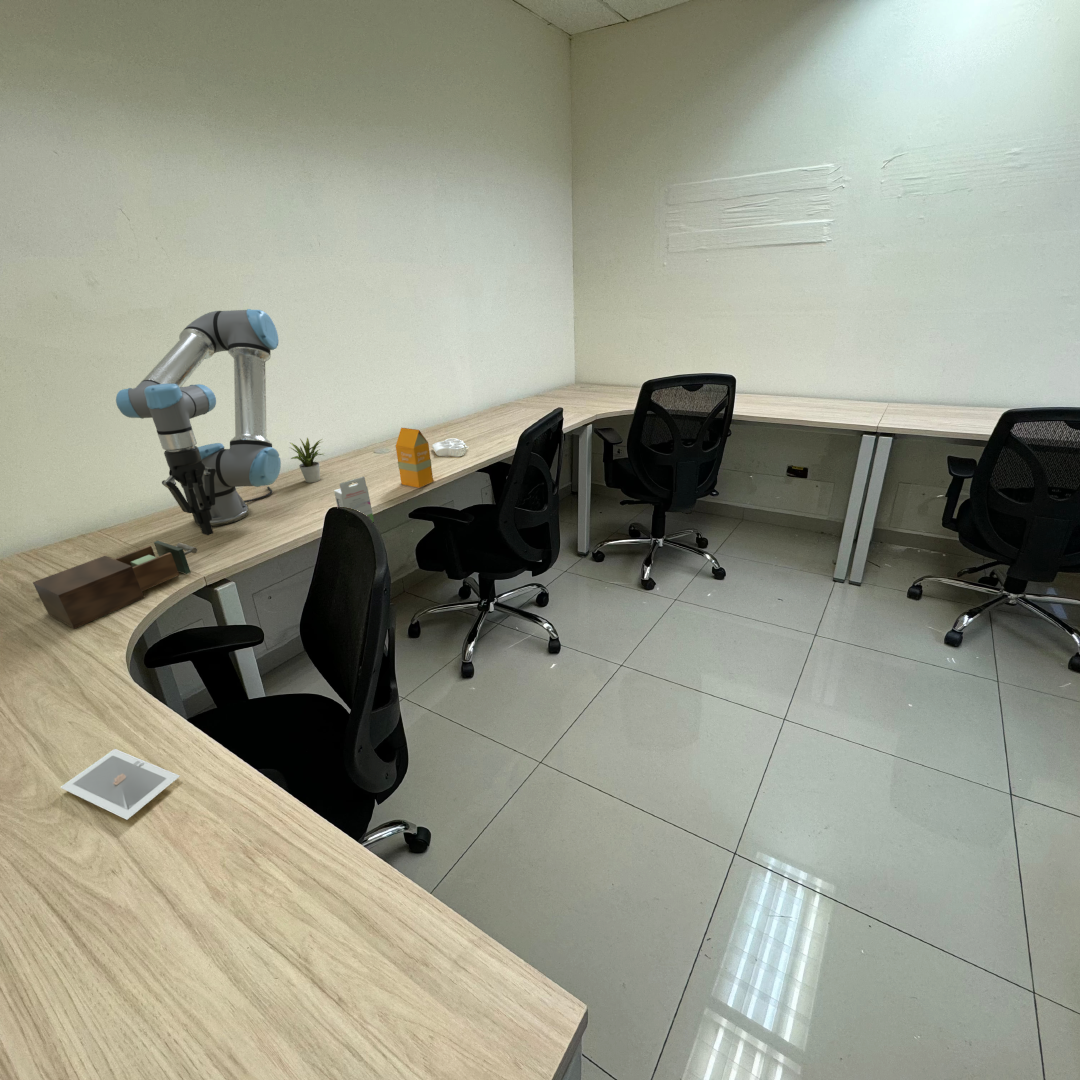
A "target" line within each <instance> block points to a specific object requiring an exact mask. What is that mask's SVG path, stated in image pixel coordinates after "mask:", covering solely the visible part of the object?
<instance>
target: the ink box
mask: <svg viewBox="0 0 1080 1080" xmlns="http://www.w3.org/2000/svg"><path fill="white" fill-rule="evenodd" d="M352 483H353V484H352ZM333 493H334V497H335V502H336V503H335V504H336V507H337V508H338V507H347V508H352V509H355V510H358V511H360V512H362V513H364V514H365V515H367V517H369V518H370V519H371V520H372V522H371V523H374V522H375V518H374V514H373V509H372V503H371V497H370V493H369V488H368V486H367V482H366V477H365V476H360V477H357V478H354V479H350V480H347V481H343V482H340V483H339V488H338V489H334V490H333Z"/></svg>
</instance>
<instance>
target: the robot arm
mask: <svg viewBox="0 0 1080 1080" xmlns="http://www.w3.org/2000/svg"><path fill="white" fill-rule="evenodd" d="M278 346H279V334H278V330H277V328H276V324H274V321H273V319H272V318H271V316H270V315H269V314H268V313H267V312H265V310H264V311H263V310H261V309H251V308H247V309H233V310H232V309H231V310H214V311H210V312H207V313H204V314H202V315H200V316H199V317H197V318H195V319H194V320H193V321H191V322H190V323H188V325H186V327H184V328H183V330H182V331H181V332H180V333H179V340H178V341H177V342H176V344H174V346H172V348H171V349H169V351H168V352H167V353H166V354H165V355H164V356H163V357H162V358H161V360H159V362H158V363H157V364H155V366H154V367H153V368H152V369H151V370H150V371H149V373H147V375H146V376H145V377H144V378H143V379H142V380H141V381H140V382H139V384H137V385H136V387H134V388H132V387H128V388H123V389H120V390H119V391H118V392H117V393H116V397H115V404H116V406H117V408H118V410H119V412H120V413H121V414H122V415H123V416H124V417H127V418H129V419H130V418H131V419H141V420H142V419H151V418H152V421H153V423H154V427H155V429H156V433H157V436H158V439H159V443H160V446H161V448H162V449H163V450H164V452H163V455H164V457H165V460H166V463H167V466H168V468H169V471H168V475H169V476H168V477H167V478H166V479H164V480H162V481H161V484H162V485H163V486H164V487H165V488H166V489H168V491H169V492H170V494H171V495H172V497H173V498H174V500H175V502H176V503H177V505H178V506H179V507H180V509H181V510H182V512H183V513H187V514H192V518H193V520H194V523H195V524H196V525H198V526H199V528H200V531H201V534H202V535H206V536H210V535H213V534H214V530H213V528H212V527H219V526H225V525H229V524H233V523H235V522H238V521H240V520H243V519H245V518H246V517H247V516H248V515H249V514H250V510H249V507H248V505H247V504H246V503H251V502H255V501H259V500H261V499H262V500H263V499H264V498H267V497H270V496H271V495H272V494H273V490H272V489H271V488H270V485H272V484H274V483H275V482H276V480H277V479H278V478H279V475H280V472H281V466H282V465H281V464H282V461H281V457H280V453H279V451H278V450H277V449H276V448H274V447H273V442H271V441H270V440H269V439H268V436H267V435H268V434H267V433H268V432H267V430H268V429H267V384H266V383H267V382H266V381H267V380H266V379H267V377H266V376H267V375H266V362H268V361H269V360H270V359H271V357H272V355H271V351H274V350H276V349H278ZM221 352H228V355H230V357H232V358H233V379H234V380H233V381H234V382H233V383H234V385H233V387H234V426H235V427H234V437H232V438H231V439H230V440H229V448H225V446H224V444H223V443H221V442H215V443H209V444H204V445H201V446H197V444H198V443H197V440H196V436H195V432H194V430H193V427H192V423H191V419H194V418H196V417H199V416H203V415H206V414H208V413H209V412H211V411H213V410H214V409H215V407H216V405H217V397H216V395H215V393H214V392H213V390H212V389H211V388H210V387H208V386H207V385H204V384H200V383H196V384H190V385H187V386H183V385H184V384H185V383H186V382H187V380H189V378H190V377H191V376H192V375H193V373H194V372H195V371H196V370H197V369H198V367H199V366H200V365H201V364H202V362H203V361H204V360H208V359H210V358H211V357H213V356H214V355H215V354H216V353H221ZM177 482H178V483H179V484H180V486H181V488H182V489H183V493H184V494H183V493H182V491H181V490H180V489H179V487H178V486H177ZM265 486H266V487H267V490H268V491H269V492H268V493H266V494H264V495H261V496H257V497H254V498H250V499H245V500H243V498H242V496H240V493H239V492H238V491H237V487H238V488H239V487H256V488H258V487H265Z"/></svg>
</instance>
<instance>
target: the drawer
mask: <svg viewBox="0 0 1080 1080" xmlns="http://www.w3.org/2000/svg"><path fill="white" fill-rule="evenodd" d="M153 545H154V547H155V550H156V553H157V556H156V554H155V552H154V549H153V547H152V545H147V546H145V547H142V548H139V549H136V550H134V551H131V552H129V553H126V554H124V555H123V554H122V555H121V556H117V557H115V558H114V559H115V560H117V561H120V562H122V563H125V564H128V565H130V566H132V564H131V561H134V560H137V559H139V558H142V557H144V556H147V555H151V556H154V557H157V558H154V559H152V560H149V561H147V562H144V563H142V564H139V565H137V566H134V567H132V568H133V570H134V573H135V575H136V578H137V580H138V583H139V585H140V588H141V590H142V592H143V591H146V590H148V589H151V588H152V587H155V586H158V585H161V584H162V583H165V582H167V581H169V580H172V579H174V578H176V577H178V576H180V573H182V574H184V575H189V574H190V573H192V572H191V568H190V565H189V562H188V560H187V557H186V556H187V555H190V554H197V552H198V548H197V547H195V546H192V545H190V544H189V545H188V544H187V543H182V542H177V544H176V545H173V544H171V543H167V542H164V541H161V540H156V541H153Z"/></svg>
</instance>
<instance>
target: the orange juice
mask: <svg viewBox="0 0 1080 1080" xmlns="http://www.w3.org/2000/svg"><path fill="white" fill-rule="evenodd" d="M395 443H396V444H395V451H396V458H397V465H398V472H399V475H400V476H399V477H400V484H401V485H402V486H408V487H413V488H418V489H421V488H422V487H424V486H426V485H429V484H431V483H433V482H434V475H433V468H432V459H431V453H430V445H429V442H428V440H427V439H426V437H425V436H424V434H422V432H421V431H420V430H419V429H416V428H409V427H408V428H407V427H401V428H400V431H399V433H398V436H397V440H396V442H395Z"/></svg>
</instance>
